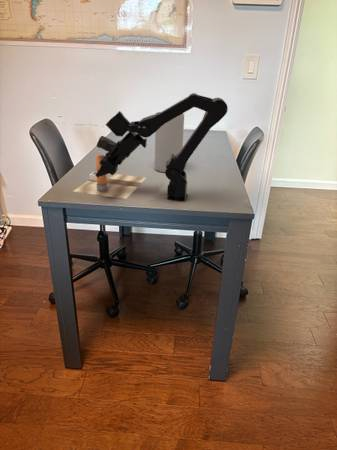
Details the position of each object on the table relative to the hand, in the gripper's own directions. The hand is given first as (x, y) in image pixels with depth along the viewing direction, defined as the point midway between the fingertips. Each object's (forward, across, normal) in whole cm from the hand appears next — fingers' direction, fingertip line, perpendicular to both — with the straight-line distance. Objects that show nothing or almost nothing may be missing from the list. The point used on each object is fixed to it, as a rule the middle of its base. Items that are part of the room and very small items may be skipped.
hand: (97, 174), depth 124 cm
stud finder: (+6, -11, +2) cm, 13 cm away
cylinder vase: (-12, -34, +23) cm, 43 cm away
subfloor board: (+3, -7, +8) cm, 11 cm away
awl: (+3, 0, +5) cm, 6 cm away
